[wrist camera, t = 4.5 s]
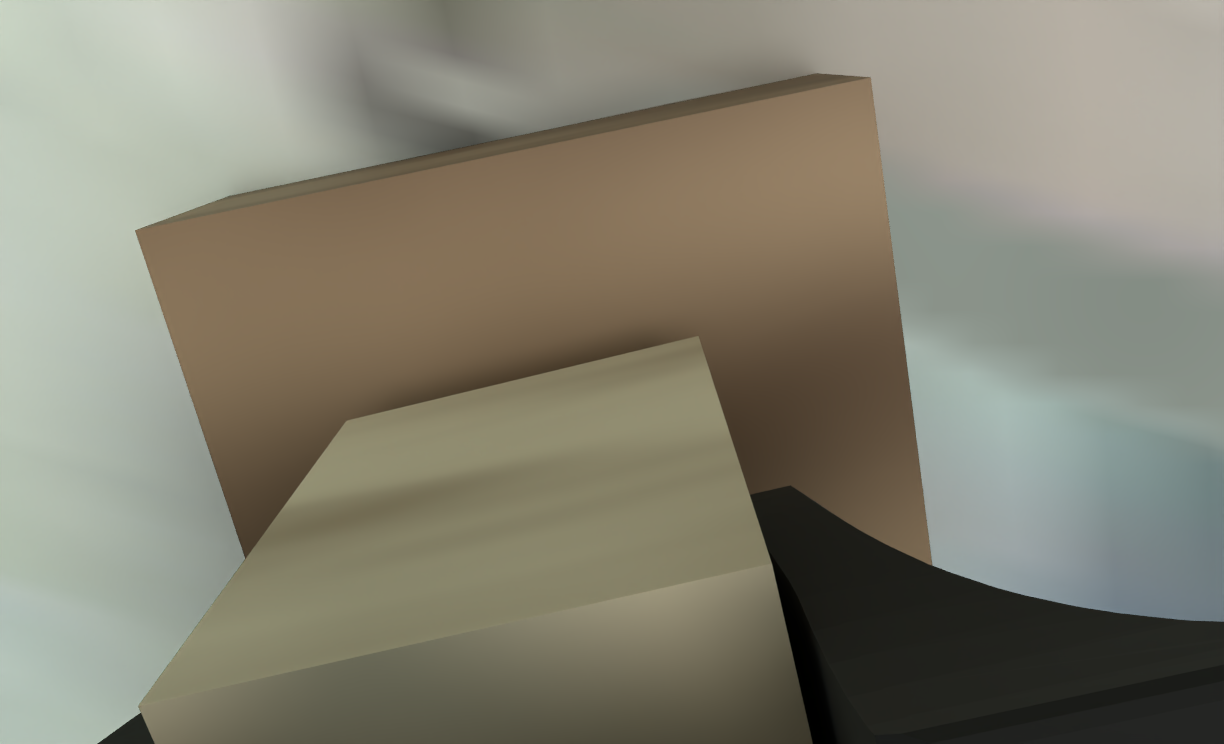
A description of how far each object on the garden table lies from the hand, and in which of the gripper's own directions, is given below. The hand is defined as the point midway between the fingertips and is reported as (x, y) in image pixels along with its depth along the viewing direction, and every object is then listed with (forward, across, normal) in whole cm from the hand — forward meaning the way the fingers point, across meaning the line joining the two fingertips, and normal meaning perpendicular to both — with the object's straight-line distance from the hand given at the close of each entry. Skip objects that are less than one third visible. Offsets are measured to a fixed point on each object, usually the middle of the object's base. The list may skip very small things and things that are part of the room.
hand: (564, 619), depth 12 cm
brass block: (+2, 0, 0) cm, 2 cm away
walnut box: (+8, 0, 0) cm, 8 cm away
